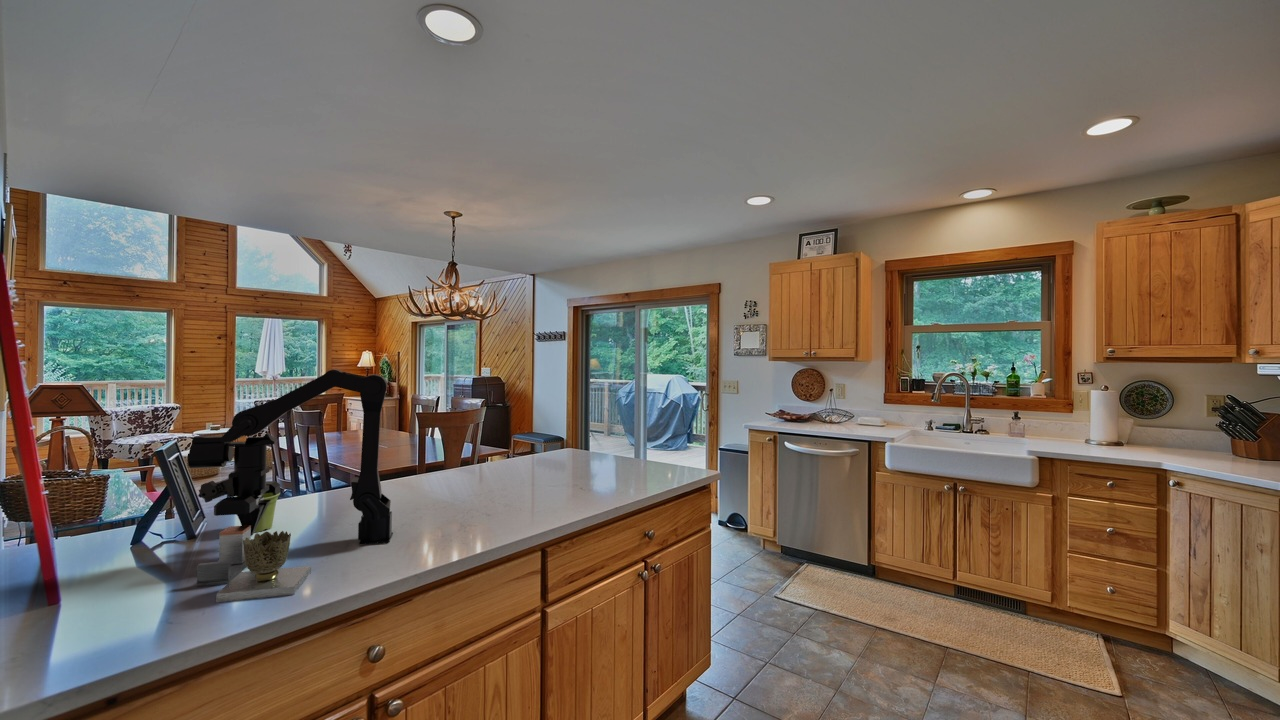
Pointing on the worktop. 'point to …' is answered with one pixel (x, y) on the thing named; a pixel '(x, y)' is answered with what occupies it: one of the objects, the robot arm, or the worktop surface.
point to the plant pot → (267, 512)
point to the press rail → (218, 572)
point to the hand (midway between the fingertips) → (249, 536)
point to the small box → (233, 543)
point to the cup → (266, 554)
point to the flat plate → (264, 585)
